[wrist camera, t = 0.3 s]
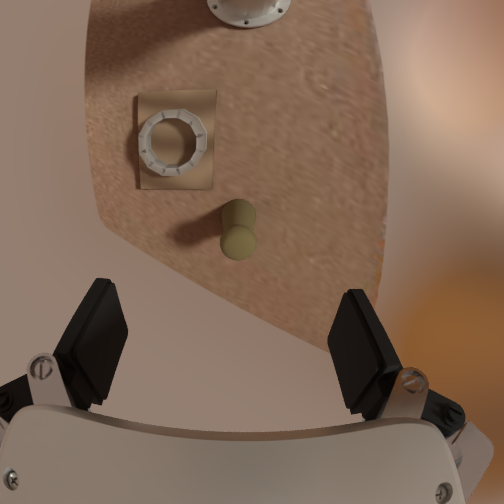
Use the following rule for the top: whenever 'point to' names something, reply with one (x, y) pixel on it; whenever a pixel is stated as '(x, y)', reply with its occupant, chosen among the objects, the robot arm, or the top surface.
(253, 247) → the olive green peg
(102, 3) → the top surface
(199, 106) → the socket board
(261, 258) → the top surface
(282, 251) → the top surface
